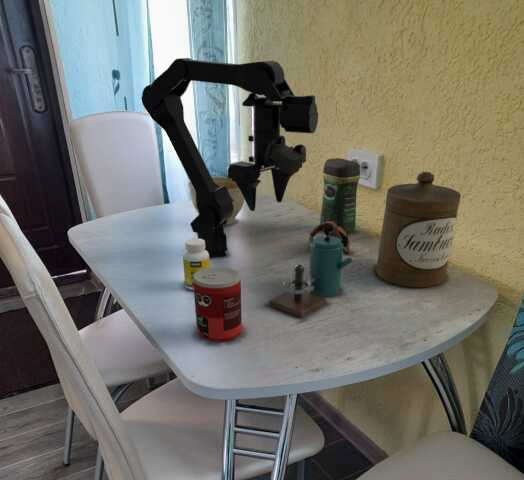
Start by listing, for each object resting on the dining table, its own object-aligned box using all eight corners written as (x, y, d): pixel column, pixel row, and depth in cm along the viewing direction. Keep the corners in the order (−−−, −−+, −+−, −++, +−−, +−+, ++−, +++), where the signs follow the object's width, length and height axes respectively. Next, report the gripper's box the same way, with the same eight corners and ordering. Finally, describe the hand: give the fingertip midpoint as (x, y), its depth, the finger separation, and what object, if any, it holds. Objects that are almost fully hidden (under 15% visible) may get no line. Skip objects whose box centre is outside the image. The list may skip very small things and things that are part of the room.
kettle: (276, 304, 99) (277, 247, 93) (320, 281, 109) (323, 228, 103) (314, 319, 94) (318, 259, 88) (356, 293, 104) (362, 237, 98)
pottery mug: (354, 260, 121) (341, 233, 116) (318, 274, 125) (304, 248, 119) (351, 232, 129) (339, 206, 124) (317, 245, 133) (304, 221, 128)
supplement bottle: (190, 293, 104) (186, 247, 99) (181, 283, 108) (177, 239, 103) (214, 288, 106) (212, 243, 101) (205, 278, 110) (202, 235, 105)
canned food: (197, 323, 93) (193, 267, 87) (240, 321, 94) (239, 265, 88) (196, 344, 86) (191, 285, 81) (242, 342, 87) (241, 283, 81)
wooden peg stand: (294, 292, 104) (295, 254, 100) (326, 303, 100) (329, 263, 95) (269, 305, 99) (269, 265, 95) (301, 318, 95) (303, 276, 90)
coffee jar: (359, 231, 138) (367, 160, 128) (338, 237, 134) (344, 164, 124) (336, 223, 144) (341, 154, 135) (314, 228, 141) (318, 158, 131)
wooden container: (401, 292, 104) (418, 183, 93) (363, 267, 116) (374, 167, 105) (459, 282, 109) (482, 177, 98) (417, 258, 121) (433, 162, 109)
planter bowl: (245, 230, 139) (245, 190, 133) (187, 230, 139) (184, 189, 133) (248, 213, 152) (247, 176, 147) (194, 213, 153) (192, 176, 147)
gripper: (266, 140, 94) (266, 223, 102) (324, 129, 106) (319, 204, 114) (224, 134, 100) (227, 212, 108) (282, 124, 112) (281, 195, 120)
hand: (266, 206), depth 112 cm, fingers open, 9 cm apart
